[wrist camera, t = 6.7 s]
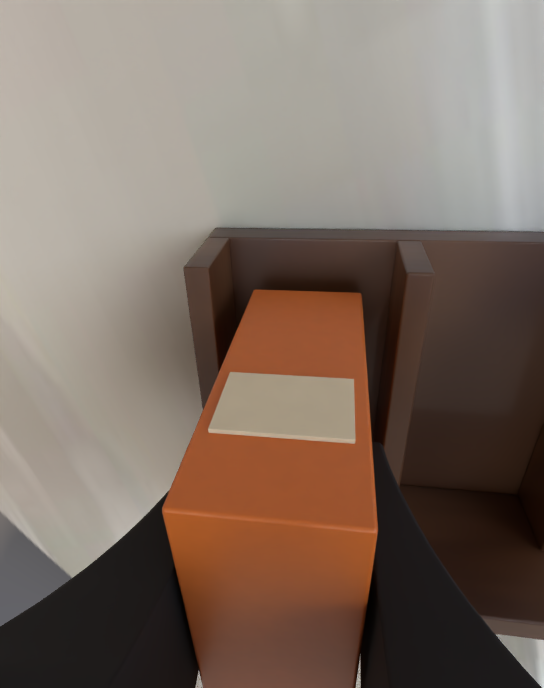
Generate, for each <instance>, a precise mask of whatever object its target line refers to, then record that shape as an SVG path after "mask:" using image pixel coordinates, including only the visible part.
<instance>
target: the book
mask: <svg viewBox="0 0 544 688" xmlns="http://www.w3.org/2000/svg"><path fill="white" fill-rule="evenodd" d="M162 513H163V518H164V522H165V526H166V530H167V535H168V539H169V543H170V547H171V552H172V556H173V560H174V565H175V569H176V573H177V577H178V582H179V586H180V590H181V595H182V599H183V603H184V607H185V612H186V616H187V620H188V625H189V629H190V633H191V637H192V642H193V646H194V650H195V655H196V659H197V663H198V667H199V672H200V676H201V680H202V684H203V688H355V687H356V680H357V673H358V666H359V659H360V652H361V645H362V638H363V631H364V624H365V618H366V611H367V604H368V597H369V590H370V583H371V576H372V569H373V562H374V555H375V548H376V542H377V535H378V522H377V507H376V493H375V478H374V464H373V449H372V435H371V420H370V406H369V392H368V377H367V363H366V348H365V334H364V319H363V305H362V294H361V293H349V292H318V291H286V290H253V293H252V295H251V297H250V300H249V302H248V305H247V307H246V309H245V312H244V314H243V316H242V319H241V321H240V324H239V326H238V328H237V331H236V333H235V336H234V338H233V340H232V343H231V345H230V347H229V350H228V352H227V355H226V357H225V359H224V362H223V364H222V367H221V369H220V371H219V374H218V376H217V378H216V381H215V383H214V386H213V388H212V390H211V393H210V395H209V398H208V400H207V402H206V405H205V407H204V409H203V412H202V414H201V417H200V419H199V421H198V424H197V426H196V429H195V431H194V433H193V436H192V438H191V440H190V443H189V445H188V448H187V450H186V452H185V455H184V457H183V459H182V462H181V464H180V467H179V469H178V471H177V474H176V476H175V479H174V481H173V483H172V486H171V488H170V490H169V493H168V495H167V498H166V500H165V502H164V505H163V507H162Z"/></svg>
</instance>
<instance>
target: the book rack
mask: <svg viewBox="0 0 544 688" xmlns="http://www.w3.org/2000/svg"><path fill="white" fill-rule="evenodd" d="M184 276H185V283H186V290H187V297H188V305H189V312H190V319H191V326H192V334H193V341H194V348H195V355H196V362H197V370H198V377H199V384H200V391H201V399H202V406H203V409H204V407H205V405H206V402H207V400H208V398H209V395H210V393H211V390H212V388H213V386H214V383H215V381H216V378H217V376H218V374H219V371H220V369H221V367H222V364H223V362H224V359H225V357H226V355H227V352H228V350H229V347H230V345H231V343H232V340H233V338H234V336H235V333H236V331H237V328H238V326H239V324H240V321H241V319H242V316H243V314H244V312H245V309H246V307H247V305H248V302H249V300H250V297H251V295H252V293H253V290H286V291H318V292H349V293H361V294H362V305H363V319H364V334H365V348H366V363H367V377H368V392H369V406H370V420H371V435H372V442H380V443H381V444H382V445H383V448H384V451H385V454H386V457H387V460H388V462H389V465H390V468H391V470H392V472H393V475H394V477H395V479H396V482H397V484H398V486H399V488H400V490H401V492H402V494H403V496H404V498H405V500H406V502H407V504H408V506H409V508H410V510H411V512H412V514H413V516H414V518H415V519H416V521H417V523H418V525H419V527H420V528H421V530H422V532H423V533H424V535H425V537H426V539H427V540H428V542H429V544H430V545H431V547H432V548H433V550H434V552H435V553H436V555H437V556H438V558H439V560H440V561H441V563H442V564H443V566H444V567H445V568H446V570H447V571H448V573H449V574H450V576H451V577H452V579H453V580H454V582H455V583H456V584H457V586H458V587H459V589H460V590H461V591H462V593H463V594H464V595H465V597H466V598H467V600H468V601H469V602H470V604H471V605H472V606H473V607H474V609H475V610H476V611H477V612H478V614H479V615H480V616H481V617H482V619H483V620H484V621H485V622H486V624H487V625H488V626H489V627H490V629H491V630H492V631H493V632H494V634H501V635H509V636H517V637H525V638H533V639H541V640H544V232H489V231H412V230H335V229H258V228H215V229H214V231H213V232H212V233H211V234H210V236H209V237H208V238H207V239H206V240H205V242H204V243H203V244H202V245H201V247H200V248H199V249H198V250H197V251H196V253H195V254H194V255H193V256H192V258H191V259H190V260H189V261H188V262H187V264H186V265H185V266H184Z"/></svg>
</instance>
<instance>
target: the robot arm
mask: <svg viewBox="0 0 544 688" xmlns="http://www.w3.org/2000/svg"><path fill="white" fill-rule="evenodd" d="M372 449H373V464H374V478H375V493H376V507H377V522H378V535H377V542H376V548H375V555H374V562H373V569H372V576H371V583H370V590H369V597H368V604H367V611H366V618H365V624H364V631H363V638H362V645H361V652H360V658H361V688H542V687H541V686H540V685H539V684H538V683H537V682H536V681H535V680H534V679H533V678H532V677H531V675H530V674H529V673H528V672H527V671H526V670H525V669H524V668H523V667H522V665H521V664H520V663H519V662H518V661H517V660H516V658H515V657H514V656H513V655H512V654H511V653H510V652H509V650H508V649H507V648H506V647H505V646H504V645H503V643H502V642H501V641H500V640H499V639H498V637H497V636H496V635H495V634H494V632H493V631H492V630H491V629H490V627H489V626H488V625H487V624H486V622H485V621H484V620H483V619H482V617H481V616H480V615H479V614H478V612H477V611H476V610H475V609H474V607H473V606H472V605H471V604H470V602H469V601H468V600H467V598H466V597H465V595H464V594H463V593H462V591H461V590H460V589H459V587H458V586H457V584H456V583H455V582H454V580H453V579H452V577H451V576H450V574H449V573H448V571H447V570H446V568H445V567H444V566H443V564H442V563H441V561H440V560H439V558H438V556H437V555H436V553H435V552H434V550H433V548H432V547H431V545H430V544H429V542H428V540H427V539H426V537H425V535H424V533H423V532H422V530H421V528H420V527H419V525H418V523H417V521H416V519H415V518H414V516H413V514H412V512H411V510H410V508H409V506H408V504H407V502H406V500H405V498H404V496H403V494H402V492H401V490H400V488H399V486H398V484H397V482H396V479H395V477H394V475H393V472H392V470H391V468H390V465H389V462H388V460H387V457H386V454H385V451H384V448H383V445H382V444H381V443H380V442H372ZM168 493H169V491H168V492H167V493H166V494H165V495H164V497H163V498H162V499H161V500H160V501H159V502H158V503H157V504H156V505H155V506H154V507H153V508H152V509H151V510H150V511H149V512H148V514H147V515H146V516H144V517H143V518H142V519H141V520H140V521H139V522H138V523H137V524H136V525H135V526H134V527H133V528H132V529H131V530H130V531H129V532H128V533H127V534H126V535H124V536H123V537H122V538H121V539H120V540H119V541H118V542H117V543H116V544H114V545H113V546H112V547H111V548H110V549H108V550H107V551H106V552H105V553H104V554H103V555H101V556H100V557H99V558H98V559H97V560H95V561H94V562H93V563H92V564H90V565H89V566H88V567H87V568H85V569H84V570H83V571H81V572H80V573H79V574H77V575H76V576H75V577H73V578H72V579H70V580H69V581H68V582H66V583H65V584H64V585H62V586H61V587H59V588H58V589H57V590H55V591H54V592H53V593H51V594H50V595H48V596H47V597H46V598H44V599H43V600H41V601H40V602H38V603H37V604H35V605H34V606H32V607H31V608H29V609H28V610H26V611H24V612H23V613H21V614H20V615H18V616H16V617H15V618H13V619H12V620H10V621H8V622H7V623H5V624H4V625H2V626H1V627H0V688H195V686H196V681H197V676H198V671H199V667H198V663H197V659H196V655H195V650H194V646H193V642H192V637H191V633H190V629H189V625H188V620H187V616H186V612H185V607H184V603H183V599H182V595H181V590H180V586H179V582H178V577H177V573H176V569H175V565H174V560H173V556H172V552H171V547H170V543H169V539H168V535H167V530H166V526H165V522H164V518H163V513H162V507H163V505H164V502H165V500H166V498H167V495H168Z"/></svg>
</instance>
